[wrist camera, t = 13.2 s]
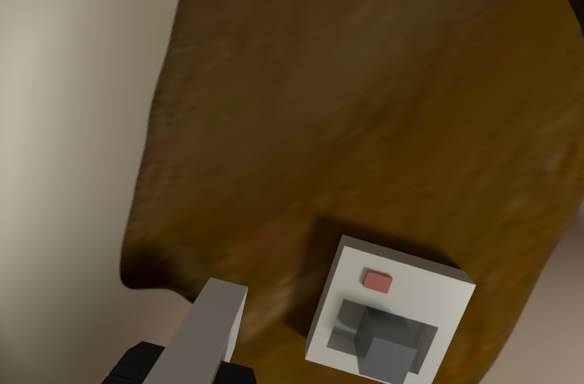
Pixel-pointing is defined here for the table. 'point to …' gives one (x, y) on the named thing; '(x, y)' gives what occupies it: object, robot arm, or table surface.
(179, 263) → the table surface
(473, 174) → the table surface
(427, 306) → the socket plate
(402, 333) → the plug
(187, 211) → the table surface
